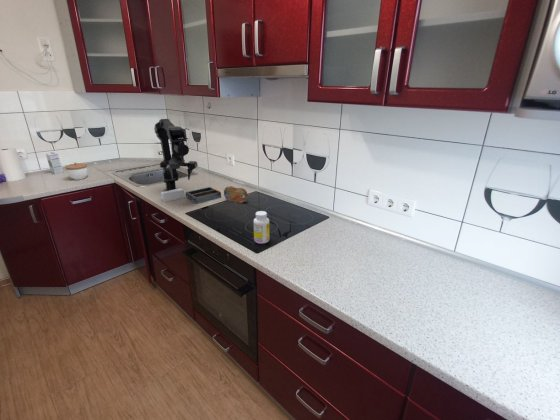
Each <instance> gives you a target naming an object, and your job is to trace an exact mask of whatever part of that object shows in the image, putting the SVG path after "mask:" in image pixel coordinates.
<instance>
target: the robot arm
mask: <svg viewBox="0 0 560 420" xmlns="http://www.w3.org/2000/svg"><path fill="white" fill-rule="evenodd" d="M153 129H154V133H155V135H156V137H157V139H158V140H159V141H160V147H161V152H162V158H163V160H162V161H161V162H160V163H159V167H160V168H161V169H162V175H161V181H162V183H164V184H165V187H166V188H164V192H165V191H170V190H175V189H177V186H176V185H177V184H176V182H177V181H179V172H178V171H177V170H178V169H180V168H181V167H187V168H186V170H187V179H188V181H190V180H191V176H192V172H193V170H195V169H196V168H198V166H199V165H198V162H197V161H196V160H195V161H194V160H189V162H186V159H185V156H186V155H188V154H189V152H190V148H189V146H188V145H186V143H185V142H187V135H186V133H185V131H184V129H183V128H182V127H181V126H178V125H174V123H172V122H171V121H170V119H169V118H160V119H159V120H158V122H156V123H155V124H154V128H153ZM170 146H171V147H170Z"/></svg>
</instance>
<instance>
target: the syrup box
mask: <svg viewBox="0 0 560 420" xmlns="http://www.w3.org/2000/svg"><path fill="white" fill-rule="evenodd" d="M45 155H46V160H47V162H48V166H49V169H50V173H51V174H54V175H58V174H63V173H64V170H63V166H62V163H61V159H60V157H59V153H57V152H54V151H53V152H47V153H45Z"/></svg>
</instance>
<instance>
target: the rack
mask: <svg viewBox="0 0 560 420" xmlns="http://www.w3.org/2000/svg"><path fill="white" fill-rule="evenodd" d="M185 197H186V199H188V200H190V201H191V202H193V203H194V204H199V203H204V202H208V201H212V200H216V199H221V198H222V192H221V191H220V190H219V189H217V188H213V187H212V186H207V187H203V188H199V189H194V190H190V191H189V190H188V191H186V192H185Z"/></svg>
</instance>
